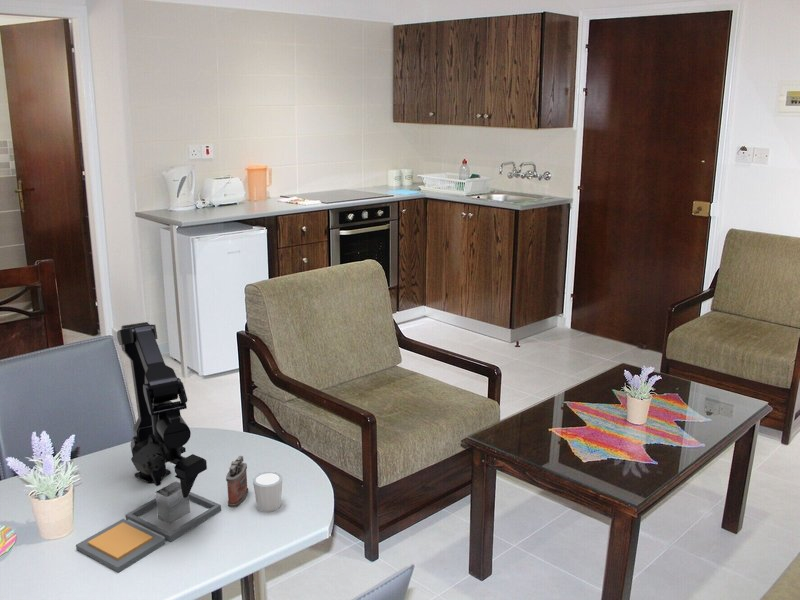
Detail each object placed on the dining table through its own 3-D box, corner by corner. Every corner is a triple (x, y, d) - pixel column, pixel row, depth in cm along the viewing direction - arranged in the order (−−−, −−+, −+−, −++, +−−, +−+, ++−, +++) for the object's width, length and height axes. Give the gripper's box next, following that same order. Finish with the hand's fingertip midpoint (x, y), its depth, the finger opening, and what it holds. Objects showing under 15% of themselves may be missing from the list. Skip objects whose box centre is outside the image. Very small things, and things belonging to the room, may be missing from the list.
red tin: (238, 508, 179) (235, 470, 176) (224, 506, 179) (222, 468, 177) (251, 490, 186) (249, 453, 184) (238, 489, 187) (236, 452, 184)
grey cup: (258, 515, 176) (256, 488, 174) (251, 500, 182) (249, 474, 180) (287, 509, 179) (285, 482, 177) (279, 494, 185) (278, 469, 183)
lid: (76, 549, 163) (75, 542, 163) (127, 521, 174) (126, 514, 173) (118, 572, 156) (117, 565, 155) (168, 541, 166) (168, 534, 166)
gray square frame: (125, 520, 174) (125, 514, 173) (177, 491, 186) (177, 486, 185) (170, 542, 166) (169, 536, 165) (221, 510, 178) (220, 504, 177)
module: (157, 519, 174) (155, 490, 172) (178, 507, 179) (175, 478, 177) (169, 524, 172) (167, 495, 170) (190, 512, 177) (187, 483, 175)
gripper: (108, 432, 168) (115, 494, 173) (165, 454, 158) (171, 520, 163) (149, 413, 177) (155, 473, 181) (206, 434, 167) (210, 497, 172)
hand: (171, 491), depth 174 cm, fingers open, 9 cm apart
